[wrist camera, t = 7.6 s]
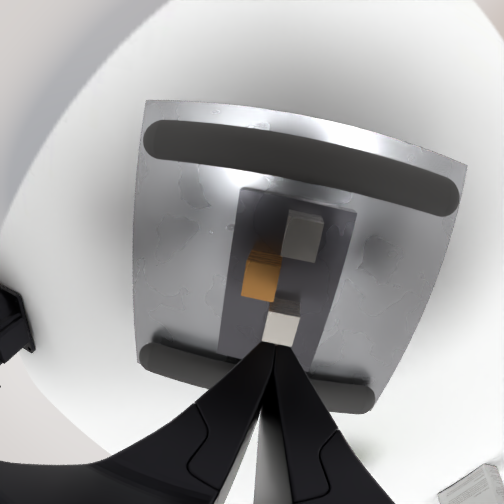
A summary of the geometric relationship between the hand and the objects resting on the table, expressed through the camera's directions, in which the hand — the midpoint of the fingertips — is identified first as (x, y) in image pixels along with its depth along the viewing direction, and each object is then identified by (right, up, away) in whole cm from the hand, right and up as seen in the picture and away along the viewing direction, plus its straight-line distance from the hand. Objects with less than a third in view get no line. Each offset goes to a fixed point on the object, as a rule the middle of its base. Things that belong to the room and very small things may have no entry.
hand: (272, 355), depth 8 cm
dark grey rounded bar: (+2, +6, +3) cm, 7 cm away
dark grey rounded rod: (0, -3, +6) cm, 7 cm away
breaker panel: (+1, +2, +7) cm, 7 cm away
